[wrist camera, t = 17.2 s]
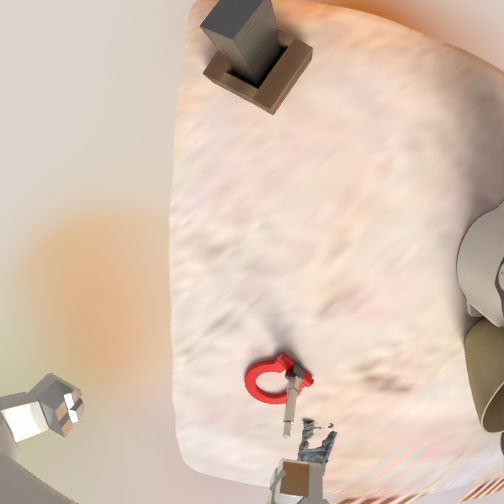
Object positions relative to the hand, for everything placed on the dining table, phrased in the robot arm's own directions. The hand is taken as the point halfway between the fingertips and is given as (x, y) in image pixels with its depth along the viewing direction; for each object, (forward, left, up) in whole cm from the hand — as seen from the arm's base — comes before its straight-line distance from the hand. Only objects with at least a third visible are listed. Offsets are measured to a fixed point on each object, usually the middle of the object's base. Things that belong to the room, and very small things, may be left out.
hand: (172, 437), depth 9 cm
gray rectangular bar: (+5, -21, -30) cm, 37 cm away
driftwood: (-20, +40, -32) cm, 55 cm away
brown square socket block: (+5, -21, -31) cm, 38 cm away
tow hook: (-7, +22, -32) cm, 39 cm away
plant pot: (-39, +7, -31) cm, 50 cm away
